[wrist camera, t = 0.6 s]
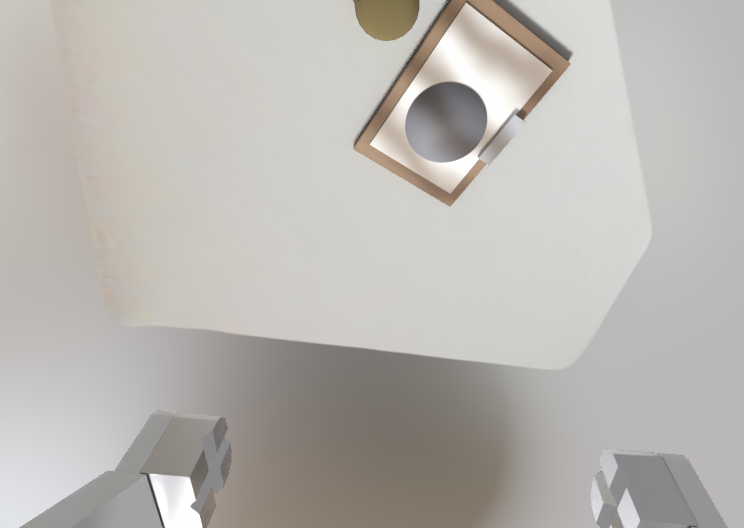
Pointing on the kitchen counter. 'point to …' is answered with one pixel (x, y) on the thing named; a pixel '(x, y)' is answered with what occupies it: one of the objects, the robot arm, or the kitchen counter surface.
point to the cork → (386, 17)
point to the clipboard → (460, 98)
